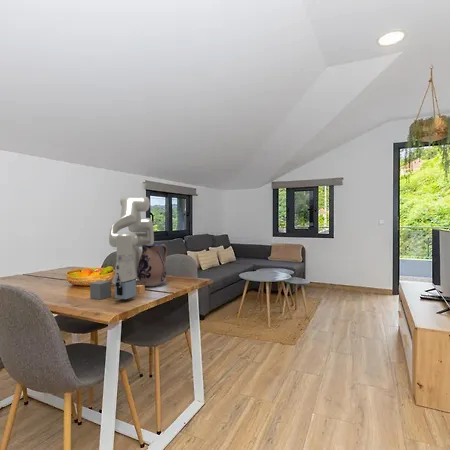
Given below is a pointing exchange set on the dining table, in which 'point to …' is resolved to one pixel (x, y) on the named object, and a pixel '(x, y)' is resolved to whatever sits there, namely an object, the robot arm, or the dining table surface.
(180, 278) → the dining table surface
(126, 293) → the blue-gray block
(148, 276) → the ceramic pitcher
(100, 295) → the dark grey block
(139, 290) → the letter block
